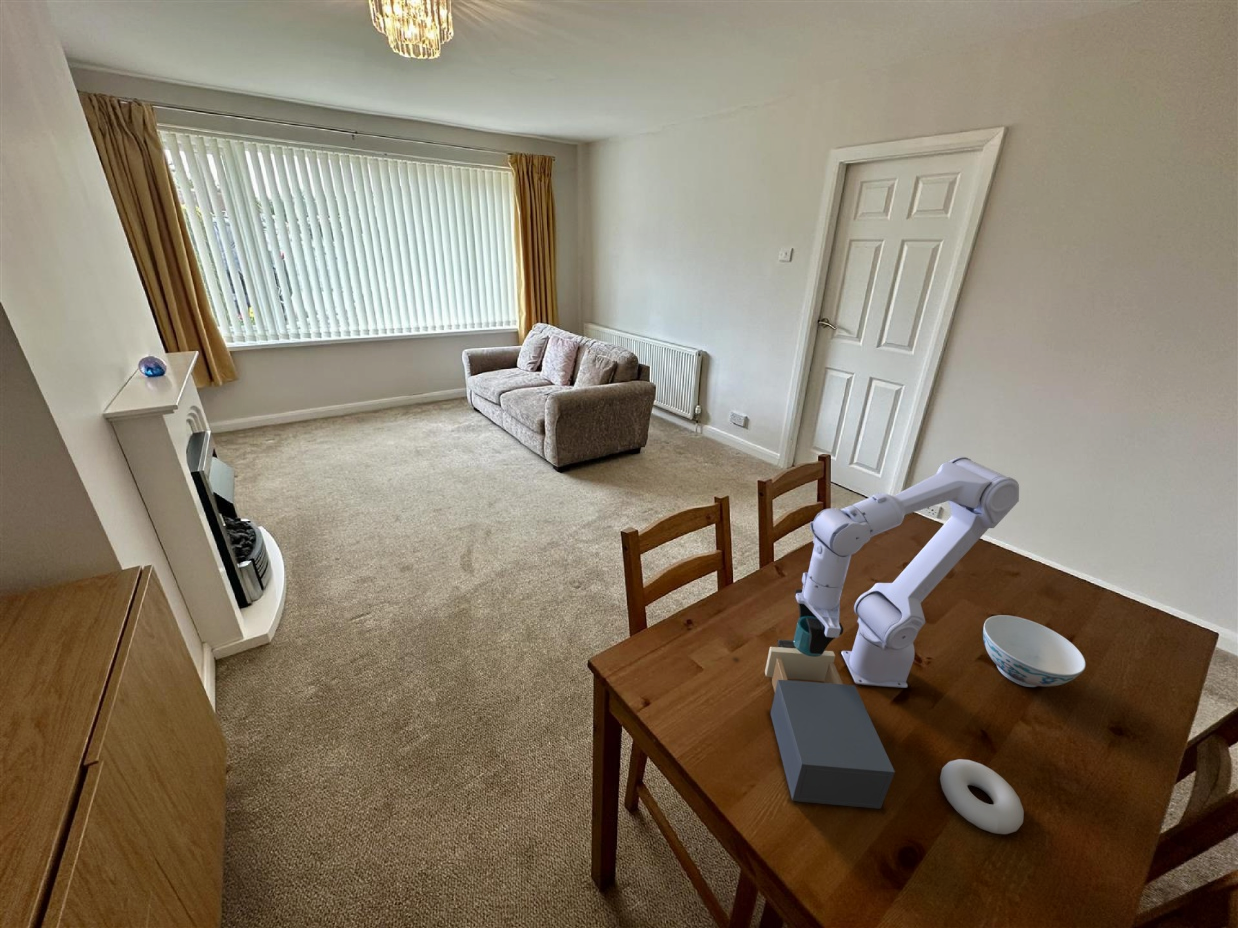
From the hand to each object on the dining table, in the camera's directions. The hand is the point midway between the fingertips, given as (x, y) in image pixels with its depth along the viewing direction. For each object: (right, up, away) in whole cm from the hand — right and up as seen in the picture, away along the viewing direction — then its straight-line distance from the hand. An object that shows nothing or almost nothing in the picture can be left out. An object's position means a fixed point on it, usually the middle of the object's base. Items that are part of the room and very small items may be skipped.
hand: (810, 639), depth 86 cm
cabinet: (-2, -15, -10) cm, 18 cm away
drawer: (-2, -10, 0) cm, 10 cm away
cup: (0, -1, +1) cm, 1 cm away
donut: (+18, -18, -15) cm, 30 cm away
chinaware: (+43, -9, +7) cm, 45 cm away
